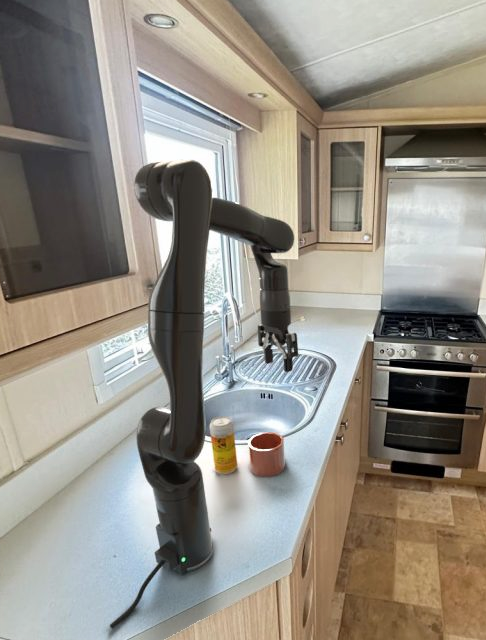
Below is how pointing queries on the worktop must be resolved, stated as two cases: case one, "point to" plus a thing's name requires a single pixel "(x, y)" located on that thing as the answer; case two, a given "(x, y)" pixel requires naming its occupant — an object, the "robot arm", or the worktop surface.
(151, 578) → the robot arm
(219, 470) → the yellow labelled bottle
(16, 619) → the worktop surface
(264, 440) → the holder
